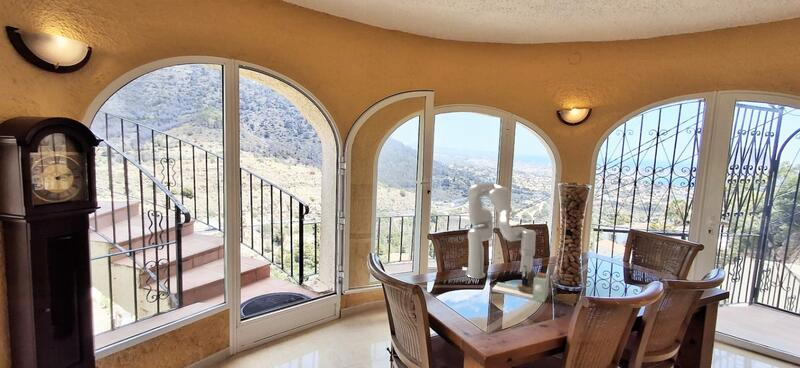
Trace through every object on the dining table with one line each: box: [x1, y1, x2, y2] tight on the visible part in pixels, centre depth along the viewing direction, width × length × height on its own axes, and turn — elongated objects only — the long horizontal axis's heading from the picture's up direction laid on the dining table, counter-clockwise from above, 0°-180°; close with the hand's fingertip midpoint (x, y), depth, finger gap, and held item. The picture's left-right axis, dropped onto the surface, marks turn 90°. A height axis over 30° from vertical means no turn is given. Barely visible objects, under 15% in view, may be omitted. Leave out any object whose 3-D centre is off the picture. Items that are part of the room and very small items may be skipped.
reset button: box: [538, 272, 546, 278], centre depth 210 cm, size 3×3×3 cm
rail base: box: [491, 281, 534, 301], centre depth 218 cm, size 22×12×4 cm, turn 59°
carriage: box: [516, 273, 533, 293], centre depth 214 cm, size 8×6×10 cm
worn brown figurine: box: [530, 268, 536, 285], centre depth 230 cm, size 12×6×18 cm, turn 121°
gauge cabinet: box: [533, 272, 550, 303], centre depth 210 cm, size 6×12×12 cm, turn 149°
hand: (526, 282), depth 214 cm, fingers open, 6 cm apart
